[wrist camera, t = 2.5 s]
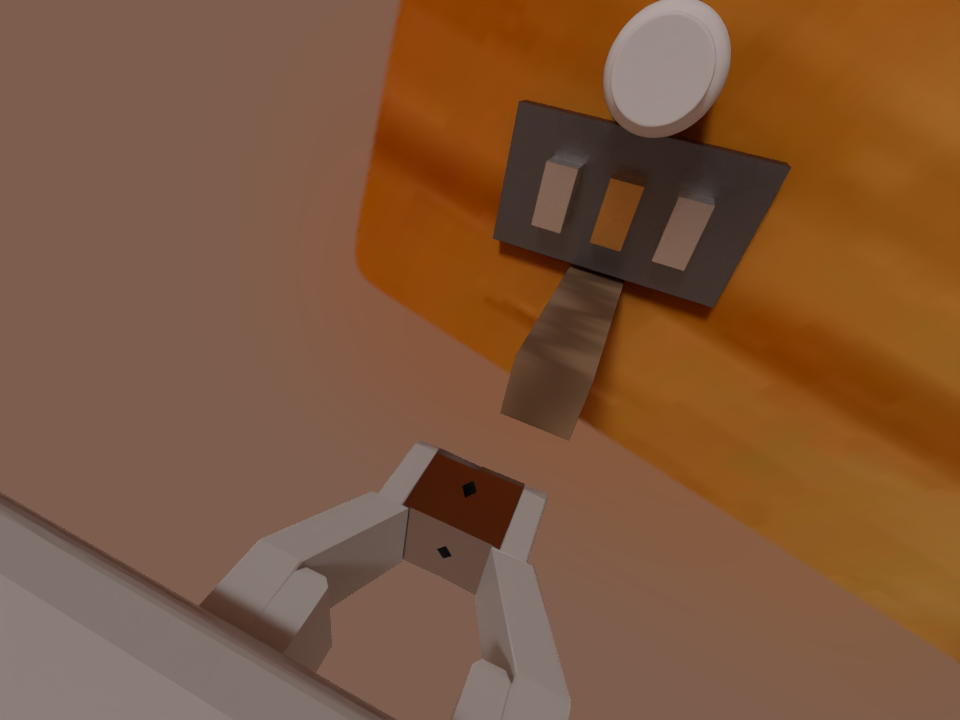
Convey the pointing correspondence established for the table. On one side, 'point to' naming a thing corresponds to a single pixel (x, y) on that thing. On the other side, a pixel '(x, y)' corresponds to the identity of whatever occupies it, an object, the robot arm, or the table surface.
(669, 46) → the pill bottle
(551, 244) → the breaker strip
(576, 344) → the walnut post
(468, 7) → the table surface
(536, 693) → the robot arm
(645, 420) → the table surface
